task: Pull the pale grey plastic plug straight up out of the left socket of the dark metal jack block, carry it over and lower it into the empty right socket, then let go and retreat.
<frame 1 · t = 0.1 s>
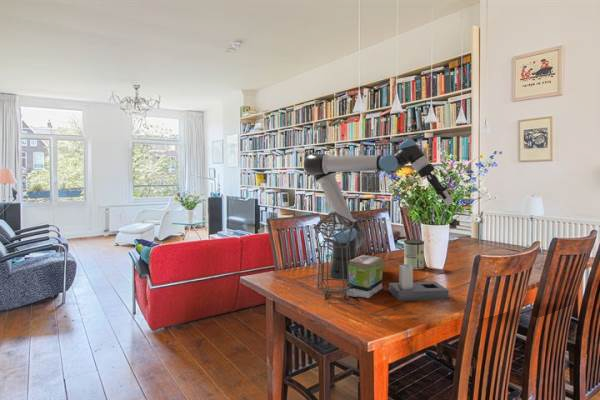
hand: (450, 203, 177), 36 cm above the table, tool tilted 35°, fingers open, 13 cm apart
plug: (405, 295, 153), point 1 cm above the table, touching jack block
coffee can: (413, 267, 202), on the table
geometric lantern: (335, 296, 155), on the table, touching tea box
tea box: (364, 293, 158), on the table, touching geometric lantern
jack block: (417, 297, 153), on the table
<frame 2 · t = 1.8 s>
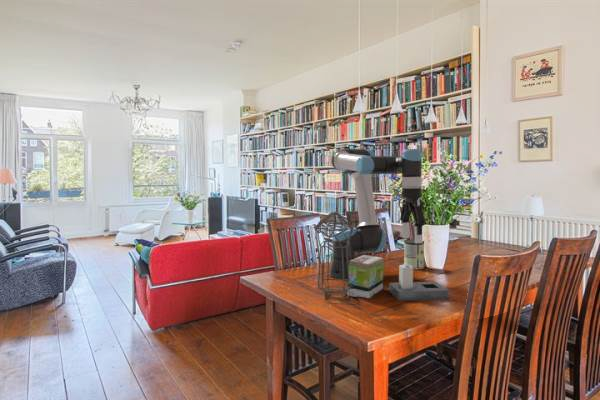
hand: (411, 240, 152), 23 cm above the table, tool pointing down, fingers open, 13 cm apart
tea box: (365, 293, 158), on the table, touching geometric lantern
everything else where it was.
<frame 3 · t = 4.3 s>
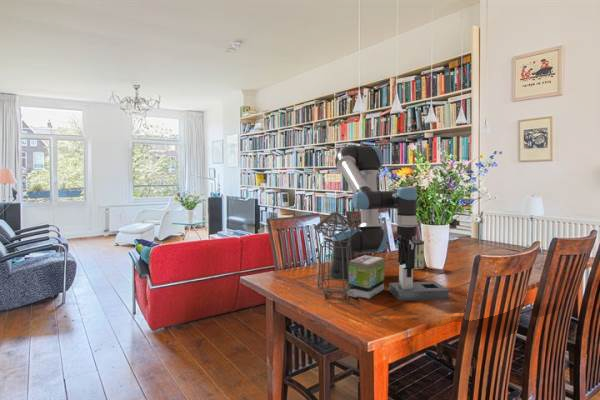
hand: (405, 282, 152), 6 cm above the table, tool pointing down, fingers closed on plug, 4 cm apart
plug: (405, 295, 153), point 1 cm above the table, touching gripper, jack block
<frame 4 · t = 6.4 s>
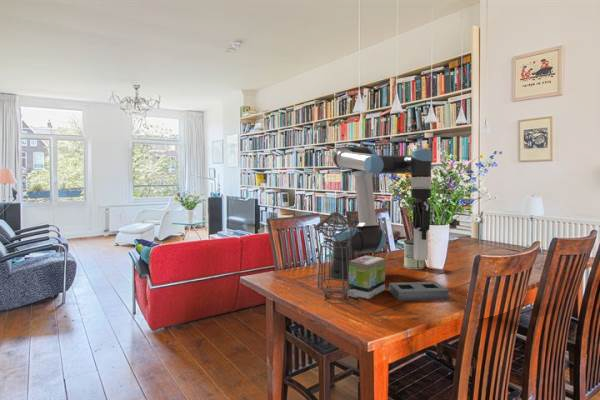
hand: (420, 246, 151), 21 cm above the table, tool pointing down, fingers closed on plug, 4 cm apart
plug: (420, 258, 151), point 16 cm above the table, touching gripper
geometric lantern: (336, 296, 155), on the table, touching tea box
tea box: (366, 294, 157), on the table, touching geometric lantern
everything else where it was.
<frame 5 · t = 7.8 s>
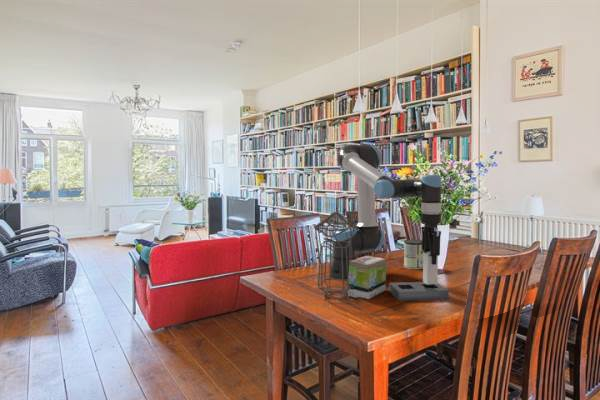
hand: (430, 270, 153), 11 cm above the table, tool pointing down, fingers closed on plug, 4 cm apart
plug: (430, 282, 153), point 6 cm above the table, touching gripper
tea box: (367, 294, 157), on the table, touching geometric lantern
everything else where it was.
when the fingers open (8 cm above the table, at t = 8.8 s): plug drops 1 cm, resting on jack block.
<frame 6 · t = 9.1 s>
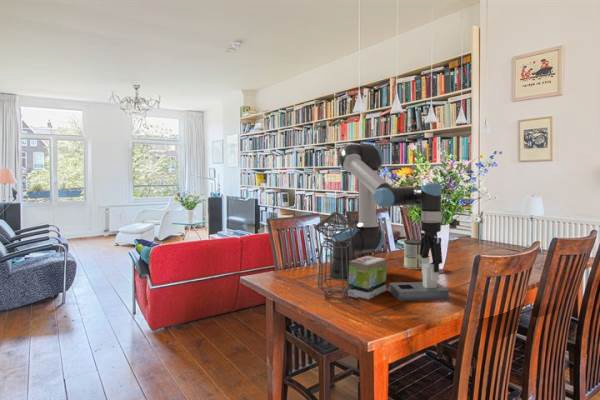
hand: (429, 276, 153), 8 cm above the table, tool pointing down, fingers open, 9 cm apart
plug: (429, 294, 153), point 1 cm above the table, touching jack block
geometric lantern: (336, 296, 155), on the table, touching tea box
everything else where it was.
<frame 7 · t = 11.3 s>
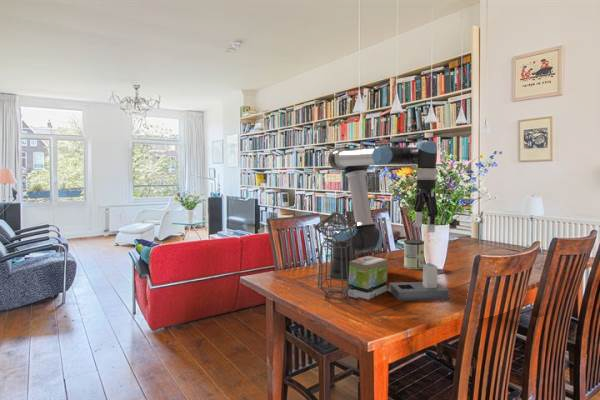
hand: (424, 229, 159), 27 cm above the table, tool pointing down, fingers open, 13 cm apart
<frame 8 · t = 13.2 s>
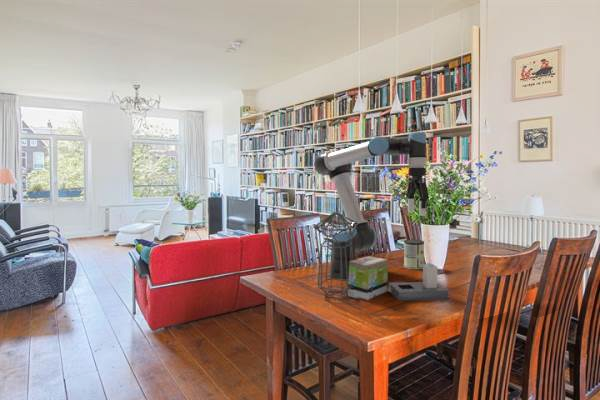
hand: (416, 214, 171), 32 cm above the table, tool pointing down, fingers open, 13 cm apart
geometric lantern: (336, 296, 156), on the table, touching tea box
at the end: plug 0.0 cm from the target spot on the jack block, point 1.0 cm above the jack block's base; plug tilted 0°; the gripper is holding nothing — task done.
